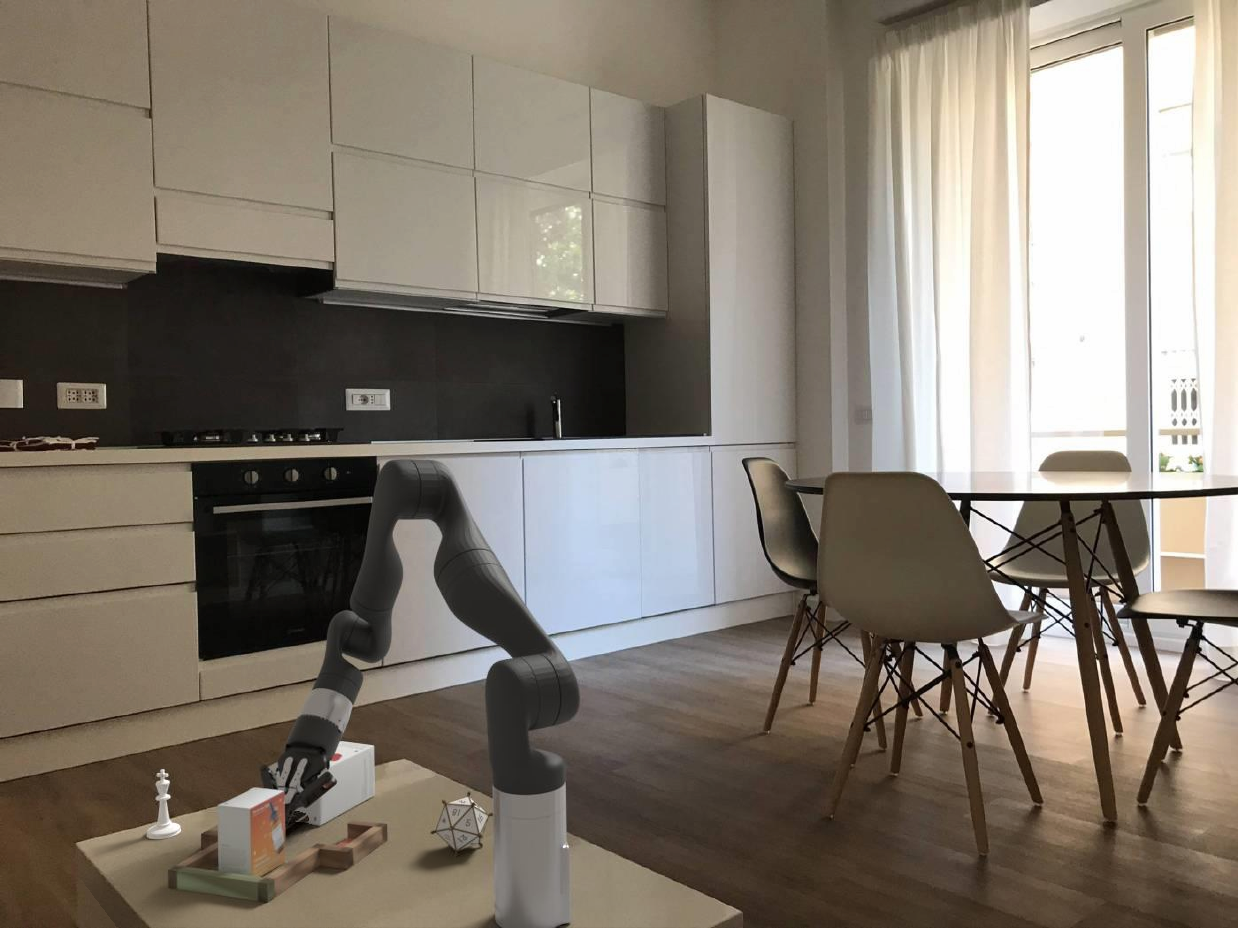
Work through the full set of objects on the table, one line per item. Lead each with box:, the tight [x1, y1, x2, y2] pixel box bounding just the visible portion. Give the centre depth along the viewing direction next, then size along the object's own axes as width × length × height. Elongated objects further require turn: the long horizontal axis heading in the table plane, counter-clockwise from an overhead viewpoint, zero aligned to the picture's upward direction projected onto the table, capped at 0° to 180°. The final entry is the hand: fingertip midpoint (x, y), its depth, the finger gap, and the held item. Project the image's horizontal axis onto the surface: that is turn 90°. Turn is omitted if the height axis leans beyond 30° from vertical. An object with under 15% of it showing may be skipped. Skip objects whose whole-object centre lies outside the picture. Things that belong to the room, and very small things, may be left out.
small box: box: [216, 786, 287, 877], centre depth 146 cm, size 8×6×10 cm
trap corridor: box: [167, 819, 389, 903], centre depth 149 cm, size 23×25×2 cm
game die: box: [429, 790, 493, 858], centre depth 153 cm, size 9×8×10 cm
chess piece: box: [146, 769, 182, 840], centre depth 160 cm, size 5×5×10 cm
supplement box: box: [276, 740, 376, 827], centre depth 171 cm, size 9×9×15 cm
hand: (273, 831), depth 150 cm, fingers closed
